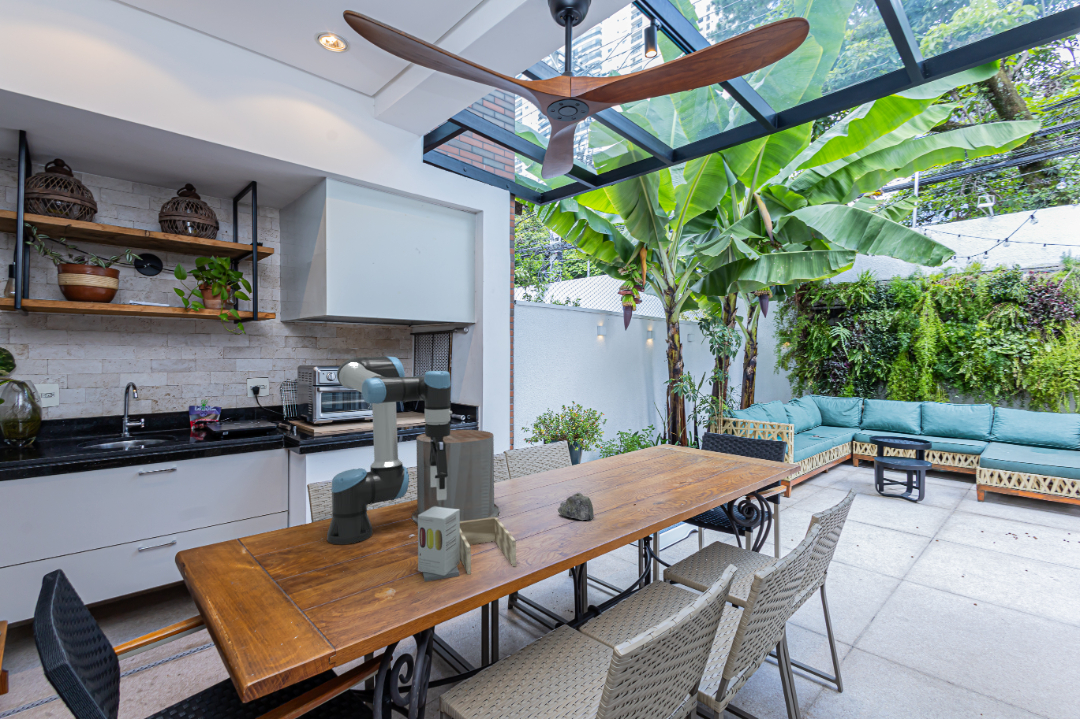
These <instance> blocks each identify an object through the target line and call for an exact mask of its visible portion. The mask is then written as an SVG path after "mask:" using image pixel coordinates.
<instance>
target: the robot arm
mask: <svg viewBox="0 0 1080 719" xmlns="http://www.w3.org/2000/svg"><path fill="white" fill-rule="evenodd" d="M424 373H425V374H424V375H414V376H406V375H405V374H406V373H405V368H404V366H403V363H402V361H401V360H400V359H399V358H398V357H396V356H357V357H352V358H349V359H347V360H345V361H344V362H342V363H341V364H340V365H339V367H338V368H337V371H336V378H337V382H338V383H339V384H340V386H342V387H343V388H346V389H347V390H351V391H352V390H353V391H354V390H355V391H358V392H360V393H361V394H362V399H363V401H364V402H365V403H367V404H371V405H372V406H371V407H372V408H371V409H372V428H373V429H372V431H373V436H372V437H373V455H374V456H373V457H374V461H373V462H372V464H370V466H369V467H370V469H369V471H367V470H366V468H351V469H347V470H344V471H341V472H339V473H337V474H336V475H334V476H333V478H332V480H331V490H330V491H331V512H332V513H331V520H330V523H329V527H328V530H327V532H326V533H327V534H326V535H327V536H326V540H327V542H328V543H330V544H331V545H332V544H333V545H351V544H350V543H352V544H356V542H357V543H360V542H363V541H366V540H368V539H369V538H371V537H370V536H373V525H372V523H371V520H370V518H369V515H368V505H373V504H377V503H382V502H387V501H394V500H395V501H396V500H398V499H401V498H403V497H405V495H406V494H407V492H408V489H409V483H410V474H409V471H408V468H407V467H406V466H404V465H403V461H402V460H400V459H399V446H398V424H397V423H398V422H397V418H398V417H397V403H399V402H400V403H401V402H413V401H415V402H416V401H424V422H425V424H424V434H425V435H426V436H427V437H430V438H431V442H430V459H429V461H430V465H432V466H430V487H437V500H446V499H447V490H446V477H448V473H447V460H446V443H445V442H444V441H443V437H446V436H449V435H450V433H451V430H452V428H451V427H452V426H451V423H450V421H451V415H452V414H453V411H452V410H451V385H452V382H451V373H450V372H449V371H447V370H430V371H429V370H428V371H426V372H424ZM441 472H444V473H441ZM365 539H366V540H365ZM359 541H360V542H359Z"/></svg>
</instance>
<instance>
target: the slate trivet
mask: <svg viewBox="0 0 1080 719" xmlns="http://www.w3.org/2000/svg"><path fill="white" fill-rule="evenodd" d="M421 573H422V577H423V580H424V582H425V583H426V582H431V581H432V582H433V581H437V580H441V579H449V578H454V577H460V571H459V568H458V565H457V566H456V567H455V568H453V569H452V570H451V571H450V572H448V573H447V574H446V575H445V576H444V575H438V574H433V573H427V572H422V571H421Z"/></svg>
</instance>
